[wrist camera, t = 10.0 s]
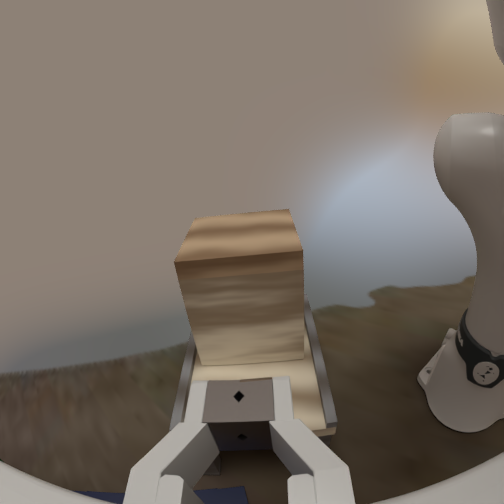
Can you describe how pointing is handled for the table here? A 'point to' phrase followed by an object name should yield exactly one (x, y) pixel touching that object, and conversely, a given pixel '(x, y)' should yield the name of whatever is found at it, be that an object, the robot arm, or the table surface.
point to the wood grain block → (244, 287)
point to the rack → (300, 372)
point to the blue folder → (215, 500)
